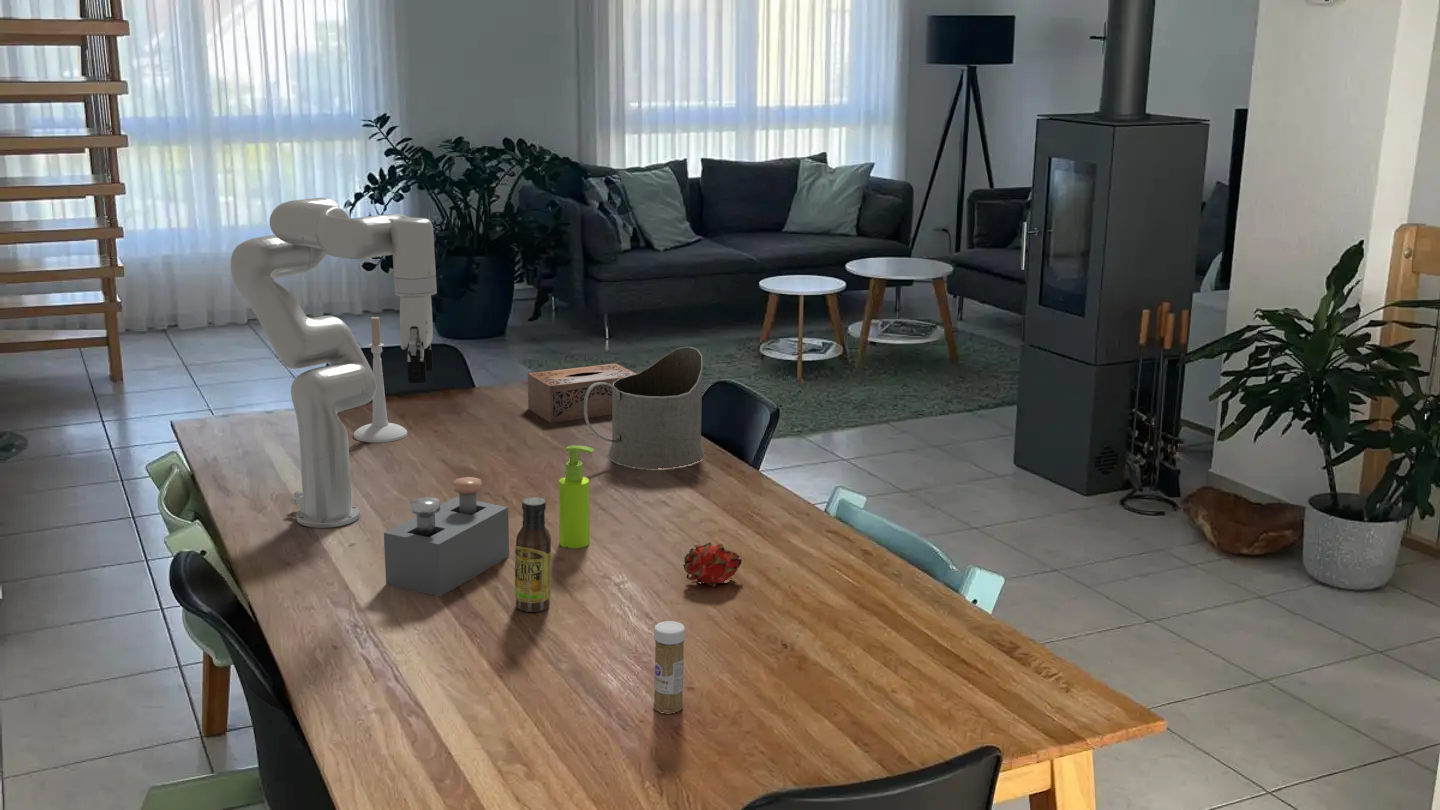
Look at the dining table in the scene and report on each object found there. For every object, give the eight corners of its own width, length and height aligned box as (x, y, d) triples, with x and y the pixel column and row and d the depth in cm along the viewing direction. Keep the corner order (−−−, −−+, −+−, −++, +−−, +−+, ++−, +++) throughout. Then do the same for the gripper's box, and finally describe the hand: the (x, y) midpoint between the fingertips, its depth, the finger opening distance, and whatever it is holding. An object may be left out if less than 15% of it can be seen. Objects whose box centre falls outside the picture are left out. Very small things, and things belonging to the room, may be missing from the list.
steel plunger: (406, 543, 249) (404, 503, 247) (423, 533, 253) (422, 495, 251) (429, 548, 247) (428, 508, 245) (447, 538, 251) (445, 500, 249)
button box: (386, 584, 250) (383, 532, 248) (457, 545, 270) (456, 497, 267) (440, 596, 246) (438, 544, 243) (509, 556, 265) (508, 507, 262)
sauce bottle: (508, 610, 241) (506, 503, 235) (526, 597, 246) (524, 492, 241) (541, 616, 238) (539, 508, 233) (558, 603, 244) (557, 497, 239)
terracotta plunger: (449, 520, 260) (447, 483, 258) (465, 512, 265) (464, 475, 263) (471, 525, 258) (470, 487, 256) (487, 517, 262) (486, 479, 260)
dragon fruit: (676, 593, 253) (735, 593, 258) (694, 582, 246) (754, 582, 251) (671, 549, 256) (729, 549, 261) (690, 536, 249) (749, 537, 254)
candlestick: (400, 443, 333) (395, 321, 325) (347, 441, 333) (341, 320, 325) (412, 428, 346) (407, 311, 338) (361, 427, 346) (355, 309, 338)
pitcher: (724, 459, 327) (727, 356, 320) (612, 483, 308) (612, 375, 302) (668, 435, 345) (669, 338, 338) (558, 456, 326) (557, 354, 319)
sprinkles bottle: (647, 708, 207) (647, 626, 204) (667, 698, 211) (668, 617, 207) (669, 718, 205) (670, 635, 201) (689, 707, 208) (691, 625, 204)
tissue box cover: (550, 423, 353) (549, 386, 350) (528, 409, 365) (527, 373, 362) (639, 411, 366) (639, 375, 363) (615, 398, 378) (615, 363, 375)
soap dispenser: (589, 550, 269) (589, 452, 263) (555, 546, 270) (554, 449, 265) (598, 539, 274) (598, 443, 269) (564, 536, 276) (564, 441, 270)
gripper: (401, 278, 261) (407, 366, 266) (387, 294, 245) (393, 387, 249) (441, 278, 262) (446, 365, 266) (430, 293, 245) (435, 386, 249)
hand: (421, 376), depth 257 cm, fingers open, 9 cm apart
